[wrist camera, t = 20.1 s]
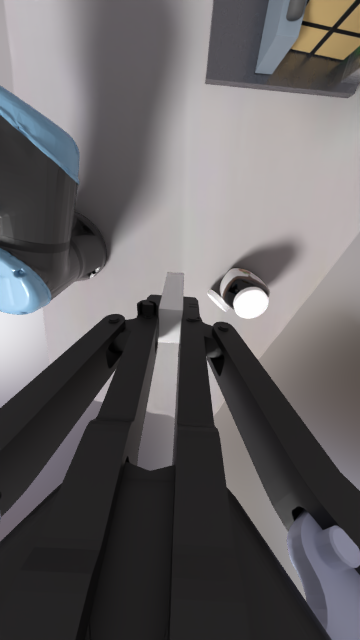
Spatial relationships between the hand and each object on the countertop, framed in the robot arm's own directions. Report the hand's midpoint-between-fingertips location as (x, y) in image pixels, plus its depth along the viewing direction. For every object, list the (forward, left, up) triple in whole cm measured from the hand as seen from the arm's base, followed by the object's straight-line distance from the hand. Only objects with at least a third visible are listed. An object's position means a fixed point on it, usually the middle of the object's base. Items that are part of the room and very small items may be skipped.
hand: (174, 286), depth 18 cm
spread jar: (+14, -12, -30) cm, 35 cm away
